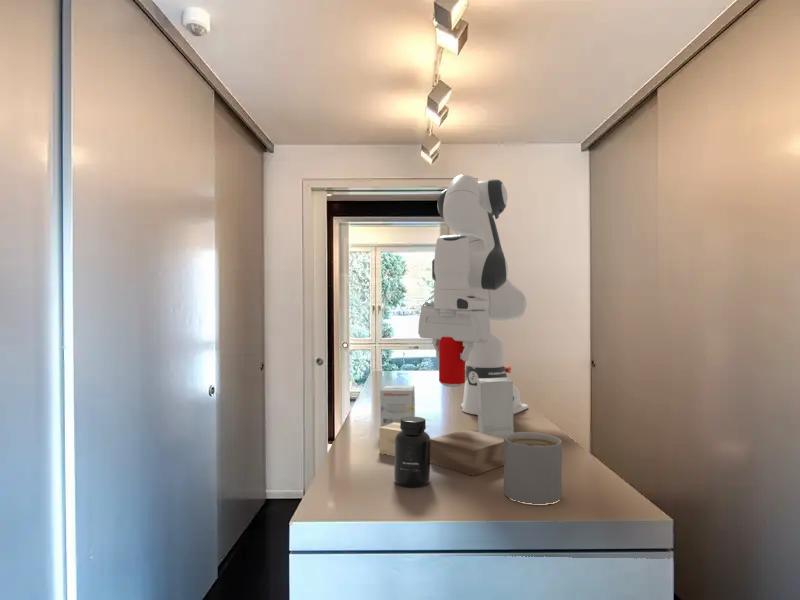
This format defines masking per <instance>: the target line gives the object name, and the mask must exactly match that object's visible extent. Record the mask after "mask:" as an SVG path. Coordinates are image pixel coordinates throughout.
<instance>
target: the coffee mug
mask: <svg viewBox="0 0 800 600" xmlns="http://www.w3.org/2000/svg"><path fill="white" fill-rule="evenodd" d="M562 443H563V442H562V440H561V438H559V437H558V436H555V435H551V434H548V433H542V432H537V431H535V432H534V431H518V432H517V431H516V432H514V433H510V434H507V435H506V436H505V437H504V466H503V495H504V494H505V495H506V496H507V497H509V498H511V499H513V500H516V501H520V502H525V503H532V504H546V503H553V502H556V501H558V500H560V499H561V497H562V496H563V495H562V493H563V492H562V486H563V485H562V483H563V481H562V480H563V478H562V475H563V474H562V472H563V471H562V469H563V468H562V467H563V466H562V463H563V461H562V457H563V455H562V454H563V453H562V451H563V450H562V447H563V445H562ZM505 495H504V496H505ZM506 496H505V497H506ZM507 497H506V498H507ZM561 500H562V499H561Z"/></svg>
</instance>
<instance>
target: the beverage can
mask: <svg viewBox="0 0 800 600" xmlns="http://www.w3.org/2000/svg"><path fill="white" fill-rule="evenodd" d="M464 348H465V346H463V341H455V340H454V339H453V338H452V337H451V336H443V337H442V338H441V339H440V342H439V358H438V363H439V364H438V381H439V383H440V384H442V386H445V387H448V388H449V387H450V388H458V387H462V385H465V382H466V361H460V353H462V352H463V350H464Z"/></svg>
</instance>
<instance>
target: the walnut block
mask: <svg viewBox="0 0 800 600" xmlns="http://www.w3.org/2000/svg"><path fill="white" fill-rule="evenodd" d="M430 462H431V463H430V464H433V463H434V465H436V464H438V465H437V466H439V465H441V466H440V467H443V466H444V468H446V467H447V468H446V469H449V468H450V469H449V470H452V469H453V470H452V471H455V470H456V472H458V471H459V473H462V472H463V474H465V475H469V476H471V475H472V477H476V476H478V474H479V475H481V474H484V473H487V472H489V470H490V471H492V469H493V470H494V469H495V470H496V469H498V468H501V467H504V466H503V465H504V438H500V437H495V436H491V435H487V434H483V433H478V431H474V430H468V429H462V430H460V431H455V432H452V433H447V434H445V435H444V434H443V435H440V436H436V437H433V438H430ZM486 471H487V472H486ZM483 472H484V473H483ZM480 473H481V474H480ZM475 475H476V476H475Z"/></svg>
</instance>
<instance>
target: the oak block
mask: <svg viewBox="0 0 800 600" xmlns="http://www.w3.org/2000/svg"><path fill="white" fill-rule="evenodd" d="M400 431H401V429H400V423H395V422H394V423H391V424H388V425H385V426H383V427H381V426H380V427H379V454H380V453H381V454H380V455H383V454H387V455H386V456H388V455H392V456H391V457H394V456H395V437H396V435H397V434H398V433H399V432H400Z"/></svg>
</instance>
